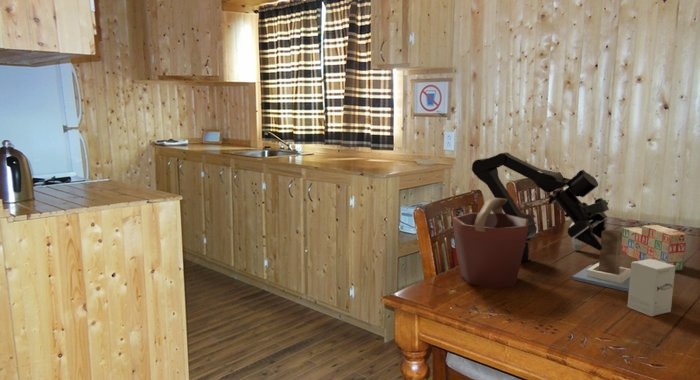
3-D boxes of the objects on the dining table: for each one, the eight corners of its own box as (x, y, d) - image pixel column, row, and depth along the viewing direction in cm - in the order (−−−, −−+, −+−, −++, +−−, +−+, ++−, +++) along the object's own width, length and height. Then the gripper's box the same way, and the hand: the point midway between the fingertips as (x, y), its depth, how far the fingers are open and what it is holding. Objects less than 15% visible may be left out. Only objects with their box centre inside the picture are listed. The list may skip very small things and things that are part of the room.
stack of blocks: (620, 252, 187) (623, 219, 185) (635, 251, 188) (638, 218, 186) (666, 271, 166) (670, 234, 164) (683, 270, 167) (687, 233, 165)
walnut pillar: (598, 275, 159) (601, 231, 157) (603, 272, 162) (606, 228, 160) (614, 279, 156) (617, 233, 154) (618, 275, 159) (622, 231, 157)
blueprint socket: (572, 279, 159) (572, 270, 158) (590, 267, 170) (591, 258, 170) (629, 292, 148) (630, 281, 148) (644, 278, 159) (645, 268, 159)
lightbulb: (568, 252, 188) (569, 222, 186) (567, 247, 194) (569, 219, 192) (586, 253, 186) (588, 223, 184) (585, 249, 191) (587, 220, 189)
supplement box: (652, 317, 131) (656, 269, 128) (626, 307, 137) (630, 261, 135) (672, 312, 133) (676, 265, 131) (645, 302, 140) (649, 257, 138)
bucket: (481, 262, 176) (484, 190, 172) (544, 277, 161) (548, 198, 156) (438, 280, 159) (440, 200, 155) (503, 298, 144) (507, 210, 140)
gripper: (581, 194, 153) (618, 237, 147) (602, 186, 166) (637, 226, 160) (552, 216, 159) (587, 258, 154) (575, 207, 173) (608, 245, 167)
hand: (606, 246), depth 158 cm, fingers open, 9 cm apart
